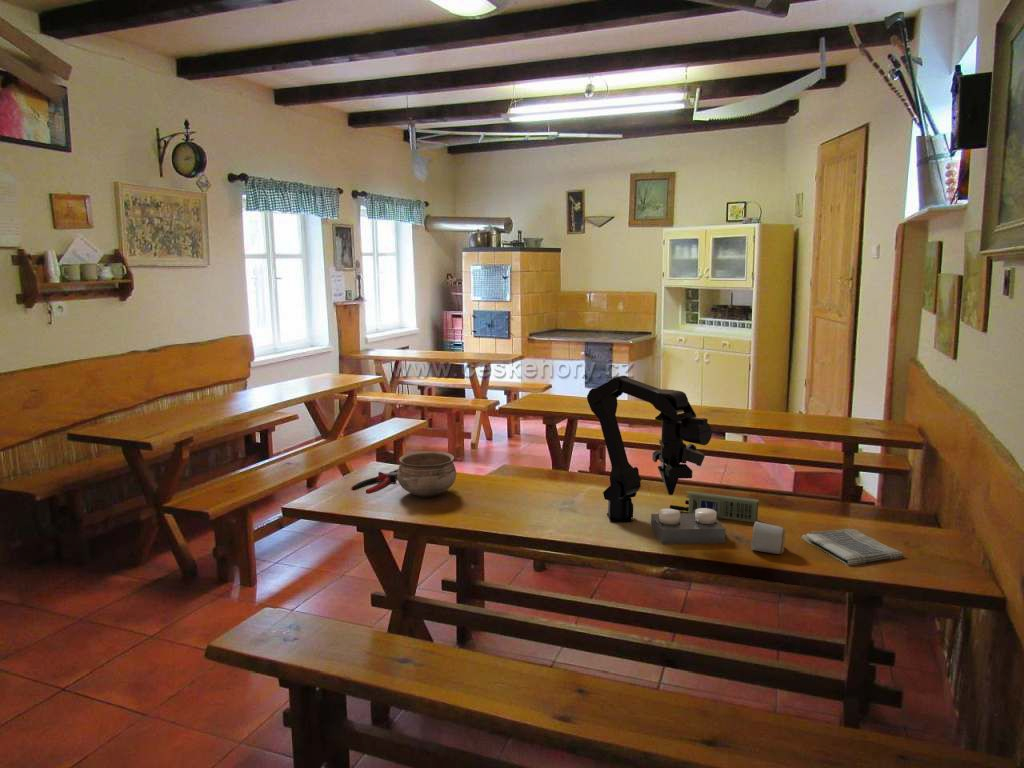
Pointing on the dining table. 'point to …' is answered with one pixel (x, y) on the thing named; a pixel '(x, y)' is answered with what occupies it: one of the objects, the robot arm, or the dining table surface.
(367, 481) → the pliers
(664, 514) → the knob
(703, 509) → the knob
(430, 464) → the cooking pot
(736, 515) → the handheld radio
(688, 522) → the mount
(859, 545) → the dish towel
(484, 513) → the dining table surface
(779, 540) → the block
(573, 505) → the dining table surface
